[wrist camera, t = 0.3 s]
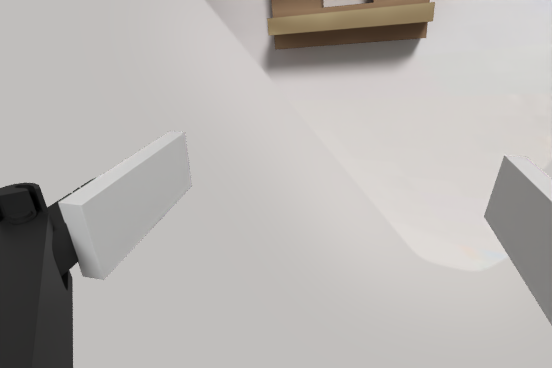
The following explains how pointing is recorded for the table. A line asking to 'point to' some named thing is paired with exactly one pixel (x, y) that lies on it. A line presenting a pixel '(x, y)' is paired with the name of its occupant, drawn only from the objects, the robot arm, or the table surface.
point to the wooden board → (347, 22)
